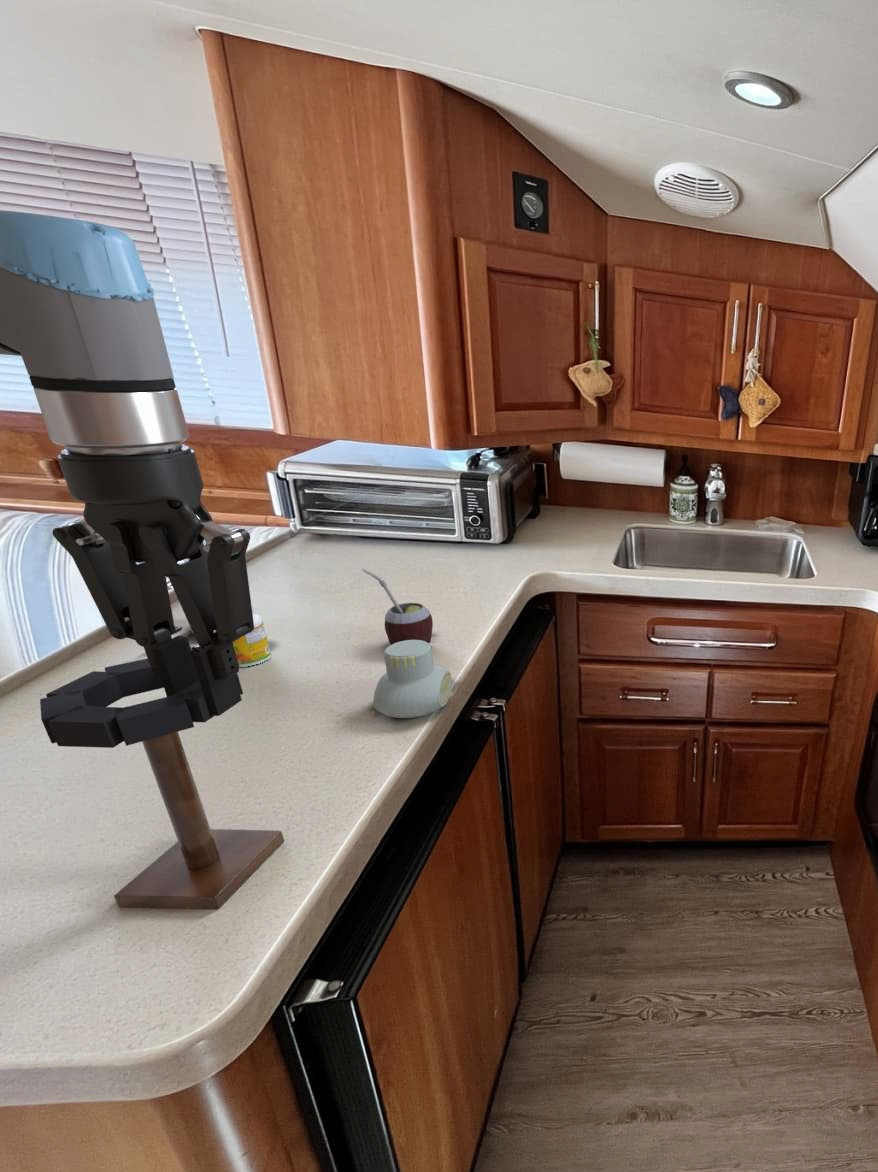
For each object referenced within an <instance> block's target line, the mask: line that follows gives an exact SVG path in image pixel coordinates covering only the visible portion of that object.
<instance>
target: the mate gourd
mask: <svg viewBox="0 0 878 1172" xmlns="http://www.w3.org/2000/svg"><path fill="white" fill-rule="evenodd" d="M361 571H362V572H364V573H366V574H367V575H369V576H371V577H373V578H374V579H375V580H377V581H378V582H379V585H380V586H381V587H382V588H383V589H384V591H385V592H386V594H387V597H389V599H390V600H391V602H392V604H393V606H392V607H390V608H389V609H388V610H387V611H386V614H385V617H384V630H385V634H386V636H387V640H388V642H389V644H390V645H392V644H394V643H397V642H401V641H406V640H422V641H425V642H427V643H430V642H432V634H433V628H434V627H433V626H434V621H433V617H432V614H431V611H430V610H429V609H428V608H427V607H426V606H424V605H423V604H422V603H419V602H404V603H399V604H398V602H397V601H396V599H395V597H394V595H393V594H392V592H391V591H390V589H389V587H388V584H387V582H386V581H385V579H382V578H381V577H380V576H379V575H377V574H376V573H373V572H371V571H369V570H367V569H365V568H362V569H361Z"/></svg>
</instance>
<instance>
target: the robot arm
mask: <svg viewBox="0 0 878 1172" xmlns="http://www.w3.org/2000/svg"><path fill="white" fill-rule="evenodd" d="M154 295H155V292H154V288H152V285H151V284H150V283H149V282H148V279H147V276H146V274H145V270H144V267H143V264H142V261H141V258H140V255H139V251H138V248H137V246H136V244H135V242H134V241H133V239H132V238H131V237H130V236H129V235H128V234H127V233H125V232H124V231H122V230H120V229H119V228H116V227H114V226H111V225H107V224H104V223H99V222H94V221H88V220H82V219H76V218H69V217H63V216H55V215H48V214H39V213H34V212H33V213H32V212H24V211H15V210H4V209H0V355H2V356H15V357H21V359H22V362H23V364H24V367H25V370H26V373H27V375H28V378H29V380H30V384H31V386H32V387H33V391H34V394H35V397H36V400H37V404H38V407H39V409H40V412H41V415H42V419H43V421H44V425H45V428H46V431H47V434H48V437H49V440H50V442H52V443H54V444H55V445H58V446H62V447H64V448H65V449H63V450H60V451H59V454H57V456H56V457H57V460H58V461H57V462H58V463H59V466H60V469H61V472H62V475H63V478H64V480H65V483H66V486H67V489H68V492H69V495H70V496H71V497H72V498H74V499H75V500H77V501H79V502H81V503H84V509H83V512H82V516H83V519H81V520H79V521H77V522H74V523H70V524H66V525H62V526H58V527H55V528H53V529H52V532H51V533H52V536H53V537H54V539H55V540H56V541H57V543H59V544H60V546H62V547H63V549H64V550H65V551H66V552H67V553H68V554H69V555H70V556H71V558H72V560H73V562H74V563H75V566H76V567H77V570H78V572H79V574H80V576H81V578H82V580H83V582H84V583H85V585H86V588H87V590H88V592H89V594H90V596H91V597H92V599H93V601H94V604H95V606H96V608H97V610H98V611H99V614H100V616H101V618H102V620H103V622H104V624H105V626H106V628H107V630H108V632H109V634H110V635H111V636H112V637H113V638H114V639H117V640H124V639H130V640H133V641H135V643H136V644H137V645H138V646H140V647H143V649H144V652H145V655H146V659H147V658H148V661H149V664H150V666H151V670H152V672H153V674H154V675H155V676H156V677H161V680H162V683H163V686H164V688H163V689H164V692H165V695H166V697H169V696H173V695H175V694H177V693H178V692H180V691H182V690H183V689H185V688H187V687H188V686H190V685H192V684H193V683H195V682H197V681H199V682H200V685H201V689H202V692H203V695H204V697H205V700H206V703H207V706H208V710H209V713H210V716H214V717H220V716H221V715H223V714H224V713H225V712H227V711H228V710H230V709H231V708H233V707H234V706H236V705H237V704H239V703H241V702H242V701H243V698H242V694H241V695H240V692H239V688H238V685H237V681H236V678H235V674H236V673H237V674H238V673H239V672H240V667H239V664H238V660H237V658H236V653H235V650H234V646H233V642H234V641H236V640H237V639H239V638H241V637H243V636H245V635H246V634H248V633H250V632H252V631H253V630H254V621H253V613H252V606H251V603H252V598H251V591H250V583H249V575H248V567H247V559H246V553H247V550H248V547H249V544H250V541H251V534H250V533H249V531H248V530H246V529H245V528H242V527H241V528H237V529H233V530H231V529H229V528H227V527H224V526H223V525H220V524H218V523H216V522H214V521H213V517H212V515H211V513H210V512H209V511H208V510H207V509H206V508H205V506H204V505H203V502H202V499H201V498H202V497H201V496H202V492H203V489H204V481H203V477H202V473H201V471H200V466H199V462H198V459H197V456H196V452H195V450H194V449H193V448H192V449H191V447H190V446H188V445H187V444H186V445H185V444H182V443H184V442H185V441H186V440H188V439H189V438H190V432H189V428H188V425H187V420H186V418H185V414H184V411H183V407H182V403H181V400H180V395H179V392H178V389H177V386H176V383H175V379H174V378H175V377H174V373H173V368H172V365H171V361H170V357H169V354H168V349H167V345H166V342H165V338H164V337H165V336H164V334H163V330H162V329H163V328H162V326H161V321H160V318H159V313H158V311H157V306H156V302H155V299H154ZM204 541H205V544H204ZM203 544H204V545H203ZM207 552H208V554H207ZM207 566H208V567H207ZM167 578H168V580H169V582H170V584H171V586H172V589H173V591H174V594H175V596H176V597H177V601H178V603H179V605H180V607H181V609H182V611H183V614H184V616H185V618H186V620H187V622H188V625H189V627H190V629H191V632H192V634H193V636H194V638H195V640H196V643H197V644H195V645H193V646H191V644H190V641H189V638H188V635H176V636H174V637H172V636H173V635H175V634H177V633H179V632H181V631H182V630H183V626H180V625H175V621H174V616H173V609H172V605H171V604H172V603H171V599H170V593H169V587H168V582H167ZM127 618H128V620H126V619H127Z"/></svg>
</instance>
